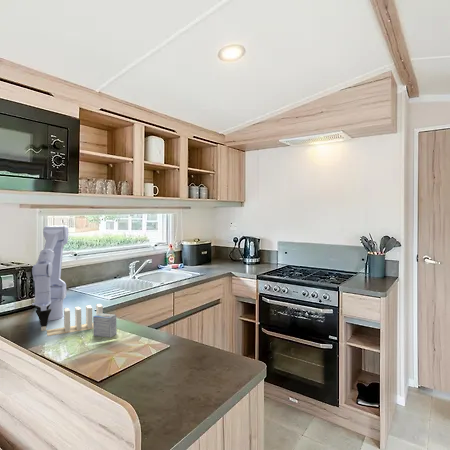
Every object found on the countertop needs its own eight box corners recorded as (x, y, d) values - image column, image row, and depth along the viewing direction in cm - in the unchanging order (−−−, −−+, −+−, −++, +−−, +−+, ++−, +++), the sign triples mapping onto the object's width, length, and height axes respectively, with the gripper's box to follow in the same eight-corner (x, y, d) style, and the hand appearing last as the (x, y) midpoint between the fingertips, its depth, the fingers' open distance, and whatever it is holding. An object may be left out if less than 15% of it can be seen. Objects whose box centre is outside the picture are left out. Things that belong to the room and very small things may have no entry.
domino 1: (40, 329, 142) (40, 309, 142) (45, 328, 143) (45, 309, 143) (41, 332, 138) (40, 312, 138) (46, 332, 139) (45, 311, 139)
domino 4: (86, 324, 145) (85, 305, 145) (90, 324, 146) (90, 305, 146) (87, 328, 141) (87, 308, 141) (92, 327, 142) (92, 307, 142)
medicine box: (117, 335, 135) (116, 314, 134) (110, 339, 130) (110, 317, 130) (100, 333, 137) (99, 312, 137) (93, 337, 133) (92, 316, 132)
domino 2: (64, 328, 141) (63, 308, 141) (69, 327, 142) (68, 307, 142) (65, 331, 137) (65, 311, 136) (70, 331, 138) (69, 310, 137)
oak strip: (46, 332, 139) (46, 330, 139) (106, 322, 151) (106, 320, 151) (47, 338, 132) (47, 336, 132) (110, 327, 144) (110, 325, 144)
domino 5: (96, 323, 148) (96, 304, 147) (100, 322, 148) (100, 303, 148) (98, 326, 143) (98, 306, 143) (103, 325, 144) (102, 306, 144)
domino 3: (75, 326, 143) (75, 307, 143) (79, 325, 144) (79, 306, 144) (76, 330, 139) (76, 309, 139) (81, 329, 140) (81, 309, 140)
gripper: (31, 289, 144) (32, 320, 145) (31, 296, 132) (32, 330, 132) (50, 287, 148) (50, 317, 148) (52, 294, 135) (52, 327, 136)
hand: (43, 323), depth 140 cm, fingers open, 7 cm apart
